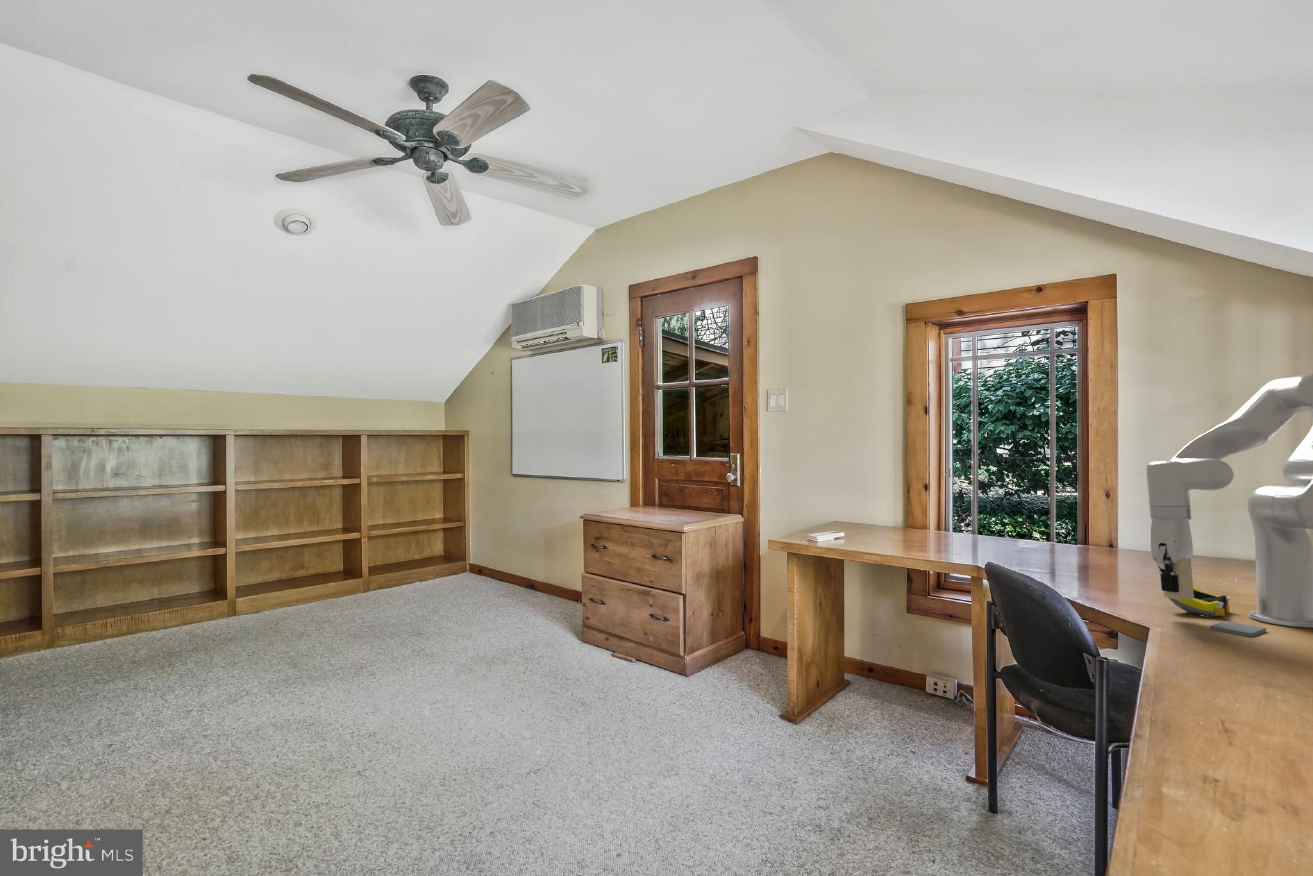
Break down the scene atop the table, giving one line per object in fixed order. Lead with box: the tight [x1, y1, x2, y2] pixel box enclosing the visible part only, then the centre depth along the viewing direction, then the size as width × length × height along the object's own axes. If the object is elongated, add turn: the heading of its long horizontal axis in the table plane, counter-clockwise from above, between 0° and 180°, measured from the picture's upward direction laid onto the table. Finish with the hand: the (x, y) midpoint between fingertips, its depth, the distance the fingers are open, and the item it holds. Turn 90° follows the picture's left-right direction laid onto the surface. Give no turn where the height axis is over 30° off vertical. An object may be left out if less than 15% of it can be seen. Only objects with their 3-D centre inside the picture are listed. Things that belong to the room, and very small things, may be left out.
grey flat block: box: [1209, 620, 1267, 638], centre depth 137 cm, size 8×7×1 cm
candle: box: [1162, 558, 1194, 600], centre depth 147 cm, size 6×6×10 cm
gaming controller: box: [1168, 585, 1231, 618], centre depth 154 cm, size 15×6×10 cm
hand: (1176, 588), depth 147 cm, fingers closed on candle, 5 cm apart
